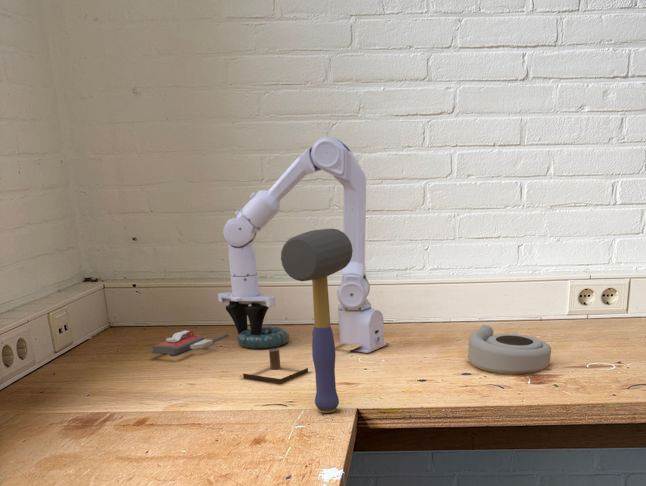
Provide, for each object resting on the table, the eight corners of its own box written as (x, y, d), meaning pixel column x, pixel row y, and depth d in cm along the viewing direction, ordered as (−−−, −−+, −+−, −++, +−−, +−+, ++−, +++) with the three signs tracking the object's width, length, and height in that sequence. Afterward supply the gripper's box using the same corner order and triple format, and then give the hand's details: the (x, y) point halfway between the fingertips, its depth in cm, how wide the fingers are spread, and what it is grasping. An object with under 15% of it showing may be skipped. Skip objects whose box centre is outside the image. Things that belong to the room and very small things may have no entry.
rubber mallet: (329, 425, 128) (318, 234, 118) (289, 420, 131) (274, 233, 121) (363, 402, 139) (355, 226, 129) (325, 398, 142) (314, 225, 132)
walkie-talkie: (182, 363, 167) (232, 341, 185) (180, 343, 166) (230, 322, 183) (147, 361, 170) (199, 339, 188) (144, 340, 168) (197, 321, 186)
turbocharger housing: (536, 384, 151) (556, 364, 164) (540, 351, 148) (560, 333, 161) (453, 370, 157) (479, 352, 170) (455, 337, 155) (481, 322, 167)
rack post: (308, 372, 158) (306, 347, 157) (280, 384, 151) (278, 357, 149) (272, 367, 163) (270, 342, 161) (243, 378, 155) (240, 352, 154)
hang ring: (299, 341, 178) (298, 327, 177) (268, 352, 169) (266, 338, 168) (260, 336, 183) (259, 323, 182) (228, 347, 174) (226, 334, 173)
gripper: (205, 275, 173) (212, 337, 177) (258, 279, 166) (263, 343, 170) (227, 271, 178) (233, 330, 183) (279, 274, 172) (284, 336, 176)
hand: (249, 336), depth 177 cm, fingers closed on hang ring, 3 cm apart
